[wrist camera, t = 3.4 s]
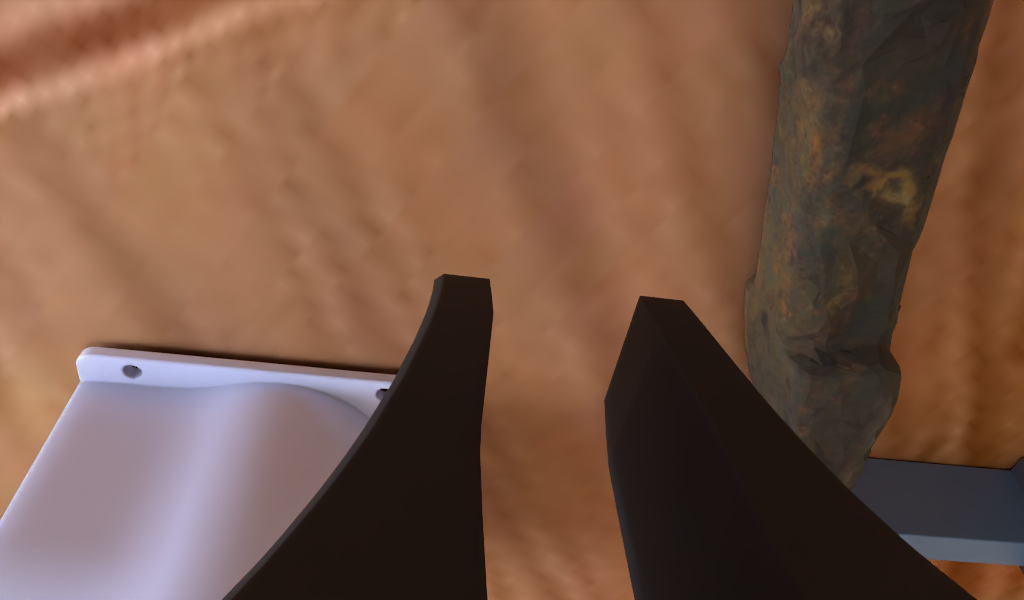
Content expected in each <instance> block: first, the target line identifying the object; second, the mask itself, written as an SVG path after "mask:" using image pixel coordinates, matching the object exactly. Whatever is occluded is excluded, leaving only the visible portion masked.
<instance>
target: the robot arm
mask: <svg viewBox="0 0 1024 600" xmlns="http://www.w3.org/2000/svg"><path fill="white" fill-rule="evenodd" d="M492 321H493V304H492V294H491V287H490V279H485V278H476V277H467V276H458V275H449V274H443V275H441V276H440V277H438V278H437V279H435V280H434V286H433V292H432V296H431V299H430V303H429V306H428V309H427V312H426V314H425V317H424V319H423V322H422V324H421V326H420V329H419V331H418V333H417V335H416V338H415V340H414V342H413V344H412V346H411V348H410V350H409V352H408V354H407V355H406V357H405V359H404V361H403V363H402V365H401V367H400V369H399V371H398V373H397V375H390V374H380V373H369V372H359V371H348V370H337V369H327V368H316V367H306V366H295V365H285V364H274V363H263V362H253V361H242V360H232V359H221V358H211V357H200V356H190V355H179V354H168V353H158V352H147V351H137V350H126V349H116V348H105V347H88V348H86V349H84V350H83V351H82V352H81V354H80V356H79V357H78V359H77V361H76V366H77V370H78V374H79V377H80V381H81V382H80V383H79V385H78V387H77V388H76V390H75V392H74V393H73V395H72V397H71V399H70V400H69V402H68V404H67V406H66V407H65V409H64V411H63V413H62V414H61V416H60V418H59V420H58V421H57V423H56V425H55V426H54V428H53V430H52V432H51V433H50V435H49V437H48V439H47V440H46V442H45V444H44V446H43V447H42V449H41V451H40V453H39V454H38V456H37V458H36V459H35V461H34V463H33V465H32V466H31V468H30V470H29V472H28V473H27V475H26V477H25V479H24V480H23V482H22V484H21V486H20V487H19V489H18V491H17V492H16V494H15V496H14V498H13V499H12V501H11V503H10V505H9V506H8V508H7V510H6V512H5V513H4V515H3V517H2V518H1V520H0V600H487V587H486V569H485V552H484V534H483V516H482V491H481V466H480V443H481V423H482V414H483V405H484V396H485V386H486V377H487V368H488V359H489V349H490V340H491V331H492ZM131 365H133V366H137V367H138V368H139V369H138V368H134V367H132V366H131ZM385 388H386V389H388V390H387V391H382V390H380V389H385ZM604 403H605V421H606V439H607V452H608V465H609V471H610V476H611V482H612V487H613V492H614V497H615V502H616V508H617V513H618V518H619V523H620V528H621V533H622V538H623V543H624V548H625V553H626V558H627V563H628V568H629V573H630V578H631V583H632V588H633V593H634V598H635V600H977V599H975V598H974V597H973V596H972V595H970V594H969V593H968V592H967V591H965V590H964V589H963V588H962V587H960V586H959V585H958V584H957V583H955V582H954V581H953V580H952V579H950V578H949V577H948V576H947V575H945V574H944V573H943V572H942V571H940V570H939V569H938V568H937V567H935V566H934V565H933V564H932V563H931V562H929V561H928V560H927V559H926V558H925V557H923V556H922V555H921V554H920V553H919V552H918V551H916V550H915V549H914V548H913V547H912V546H910V545H909V544H908V543H907V542H906V541H905V540H904V539H902V538H901V537H900V536H899V535H898V534H897V533H896V532H895V531H894V530H893V529H892V528H890V527H889V526H888V525H887V524H886V523H885V522H884V521H883V520H882V519H881V518H879V517H878V516H877V515H876V514H875V513H874V512H873V511H872V510H871V509H870V508H869V507H867V506H866V505H865V504H864V503H863V502H862V501H861V500H860V499H859V498H858V497H857V496H856V495H855V494H854V493H852V492H851V491H850V490H849V489H848V488H847V487H846V486H845V485H844V484H843V483H842V482H841V481H840V480H839V479H838V478H837V477H836V476H835V475H834V474H833V473H832V472H831V471H830V470H829V469H828V467H827V466H826V465H825V464H824V463H823V462H822V461H821V460H820V459H819V458H818V457H817V456H816V455H815V454H814V453H813V452H812V451H811V450H810V449H809V448H808V447H807V446H806V445H805V443H804V442H803V441H802V440H801V439H800V438H799V437H798V436H797V435H796V434H795V433H794V432H793V430H792V429H791V428H790V427H789V426H788V425H787V424H786V423H785V422H784V421H783V419H782V418H781V417H780V416H779V415H778V414H777V413H776V411H775V410H774V409H773V408H772V407H771V406H770V405H769V403H768V402H767V401H766V400H765V399H764V398H763V396H762V395H761V394H760V393H759V392H758V391H757V389H756V388H755V387H754V386H753V385H752V384H751V382H750V381H749V380H748V379H747V378H746V376H745V375H744V374H743V373H742V372H741V370H740V369H739V368H738V367H737V365H736V364H735V363H734V362H733V361H732V359H731V358H730V357H729V356H728V354H727V353H726V352H725V351H724V350H723V348H722V347H721V346H720V345H719V343H718V342H717V341H716V340H715V338H714V337H713V336H712V335H711V333H710V332H709V331H708V330H707V329H706V327H705V326H704V325H703V324H702V322H701V321H700V320H699V319H698V317H697V316H696V315H695V314H694V313H693V311H692V310H691V309H690V308H689V307H688V306H687V305H686V303H685V302H684V301H682V300H673V299H664V298H655V297H646V296H640V297H639V300H638V303H637V306H636V309H635V312H634V315H633V318H632V321H631V324H630V327H629V329H628V332H627V335H626V338H625V341H624V344H623V347H622V350H621V353H620V356H619V359H618V362H617V365H616V368H615V371H614V373H613V376H612V379H611V382H610V385H609V388H608V391H607V394H606V397H605V400H604Z"/></svg>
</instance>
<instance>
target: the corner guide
mask: <svg viewBox="0 0 1024 600" xmlns="http://www.w3.org/2000/svg"><path fill="white" fill-rule="evenodd" d="M850 491H851V492H852V493H854V494H855V495H856V496H857V497H858V498H859V499H860V500H861V501H862V502H863V503H864V504H865V505H866V506H867V507H869V508H870V509H871V510H872V511H873V512H874V513H875V514H876V515H877V516H878V517H879V518H881V519H882V520H883V521H884V522H885V523H886V524H887V525H888V526H889V527H890V528H892V529H893V530H894V531H895V532H896V533H897V534H898V535H899V536H900V537H901V538H902V539H904V540H905V541H906V542H907V543H908V544H909V545H910V546H912V547H913V548H914V549H915V550H916V551H918V552H919V553H920V554H921V555H922V556H923V557H925V558H926V559H932V560H946V561H960V562H974V563H988V564H1002V565H1016V566H1019V567H1020V569H1021V570H1022V572H1023V574H1024V458H1021V459H1020V460H1019V461H1018V463H1017V464H1016V465H1015V466H1014V467H1013V468H1012V469H1011V470H1010V471H1009V470H998V469H987V468H975V467H964V466H953V465H941V464H930V463H919V462H907V461H896V460H884V459H873V458H867V460H866V462H865V464H864V469H863V472H862V474H861V476H860V477H859V479H858V480H857V482H856V485H855V489H850Z"/></svg>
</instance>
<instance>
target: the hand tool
mask: <svg viewBox="0 0 1024 600" xmlns="http://www.w3.org/2000/svg"><path fill="white" fill-rule="evenodd" d="M993 1H994V0H794V1H793V9H792V18H791V26H790V35H789V40H788V45H787V50H786V54H785V57H784V59H783V60H782V62H781V63H780V68H779V73H780V77H781V84H780V92H779V102H778V112H777V122H776V132H775V139H774V148H773V155H772V163H771V170H770V178H769V186H768V193H767V199H766V204H765V212H764V221H763V232H762V238H761V244H760V249H759V256H758V265H757V273H756V274H755V275H754V276H753V277H752V278H751V279H750V280H749V281H748V282H747V283H746V287H745V293H744V320H745V351H746V353H747V355H748V366H749V372H750V375H751V379H752V381H753V383H752V385H753V386H754V387H755V388H756V389H757V391H758V392H759V393H760V394H761V395H762V396H763V398H764V399H765V400H766V401H767V402H768V403H769V405H770V406H771V407H772V408H773V409H774V410H775V411H776V413H777V414H778V415H779V416H780V417H781V418H782V419H783V421H784V422H785V423H786V424H787V425H788V426H789V427H790V428H791V429H792V430H793V432H794V433H795V434H796V435H797V436H798V437H799V438H800V439H801V440H802V441H803V442H804V443H805V445H806V446H807V447H808V448H809V449H810V450H811V451H812V452H813V453H814V454H815V455H816V456H817V457H818V458H819V459H820V460H821V461H822V462H823V463H824V464H825V465H826V466H827V467H828V469H829V470H830V471H831V472H832V473H833V474H834V475H835V476H836V477H837V478H838V479H839V480H840V481H841V482H842V483H843V484H844V485H845V486H846V487H847V488H848V489H849V490H850V489H855V485H856V482H857V480H858V479H859V477H860V476H861V474H862V472H863V469H864V464H865V462H866V460H867V458H868V456H869V454H870V452H871V447H872V445H873V444H874V442H875V441H876V439H877V437H878V436H879V434H880V432H881V431H882V429H883V428H884V426H885V425H886V423H887V421H888V420H889V418H890V416H891V414H892V412H893V409H894V406H895V404H896V401H897V399H898V394H899V389H900V382H901V371H900V367H899V365H898V363H897V362H896V360H895V358H894V357H893V355H892V353H891V352H890V345H891V338H892V333H893V330H894V328H895V326H896V323H897V319H898V312H899V310H900V307H901V305H900V301H901V297H902V292H903V288H904V283H905V279H906V275H907V271H908V268H909V264H910V260H911V255H912V251H913V249H914V247H915V245H916V243H917V241H918V239H919V237H920V235H921V232H922V230H923V227H924V224H925V221H926V218H927V214H928V211H929V208H930V205H931V201H932V198H933V195H934V192H935V188H936V185H937V182H938V178H939V175H940V172H941V168H942V165H943V162H944V158H945V155H946V152H947V149H948V147H949V144H950V142H951V139H952V137H953V133H954V130H955V127H956V123H957V120H958V117H959V113H960V110H961V107H962V103H963V100H964V97H965V93H966V90H967V87H968V84H969V81H970V78H971V75H972V72H973V69H974V67H975V64H976V59H977V53H978V47H979V43H980V41H981V38H982V35H983V32H984V29H985V26H986V23H987V20H988V17H989V14H990V11H991V7H992V4H993Z"/></svg>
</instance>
